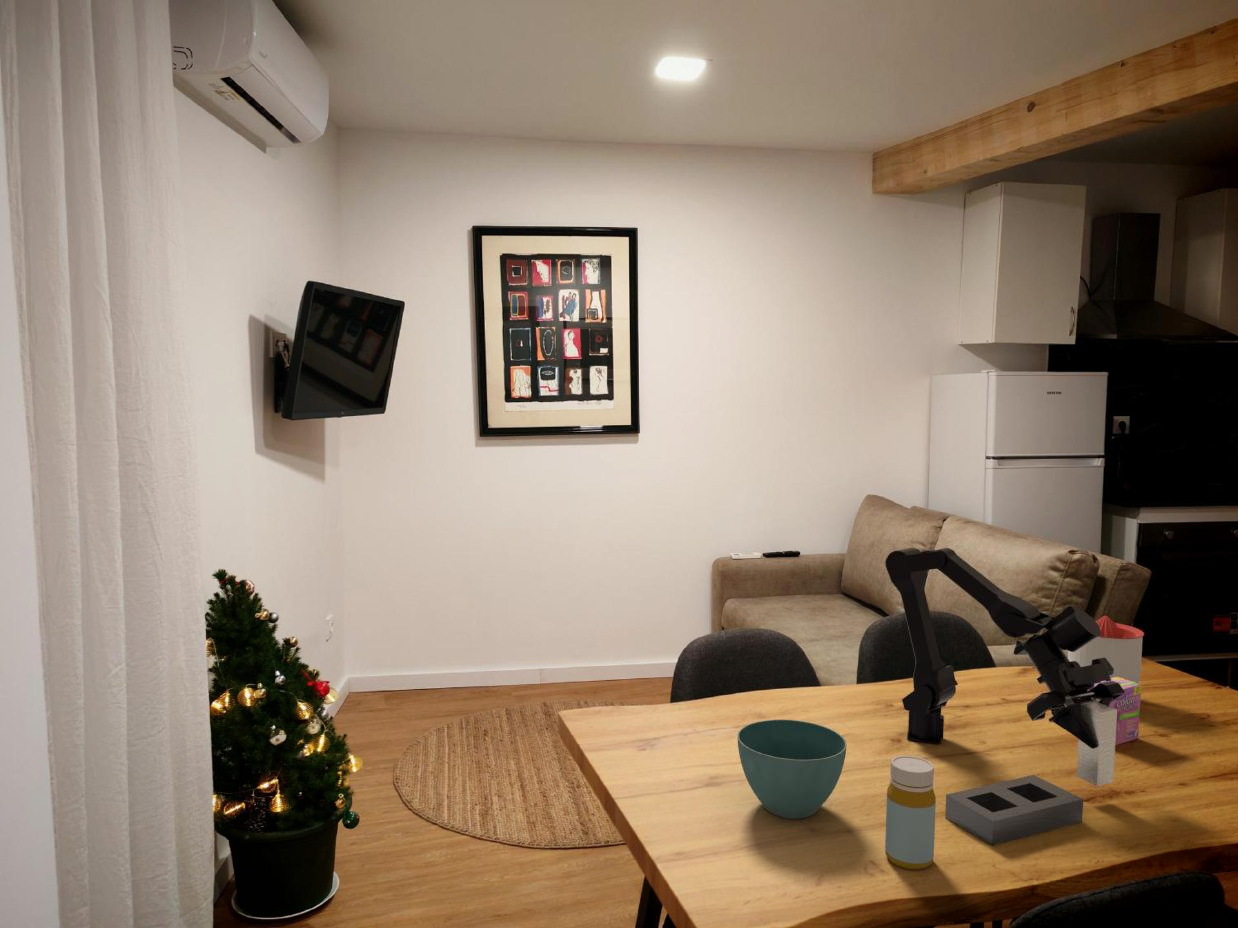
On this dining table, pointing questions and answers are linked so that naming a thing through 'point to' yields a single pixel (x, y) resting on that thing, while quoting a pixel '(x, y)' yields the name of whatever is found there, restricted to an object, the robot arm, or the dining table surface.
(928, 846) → the bottle
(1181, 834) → the dining table surface
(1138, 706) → the box
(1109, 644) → the citrus juicer
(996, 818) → the grey flat block
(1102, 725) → the peg
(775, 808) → the teal bowl
